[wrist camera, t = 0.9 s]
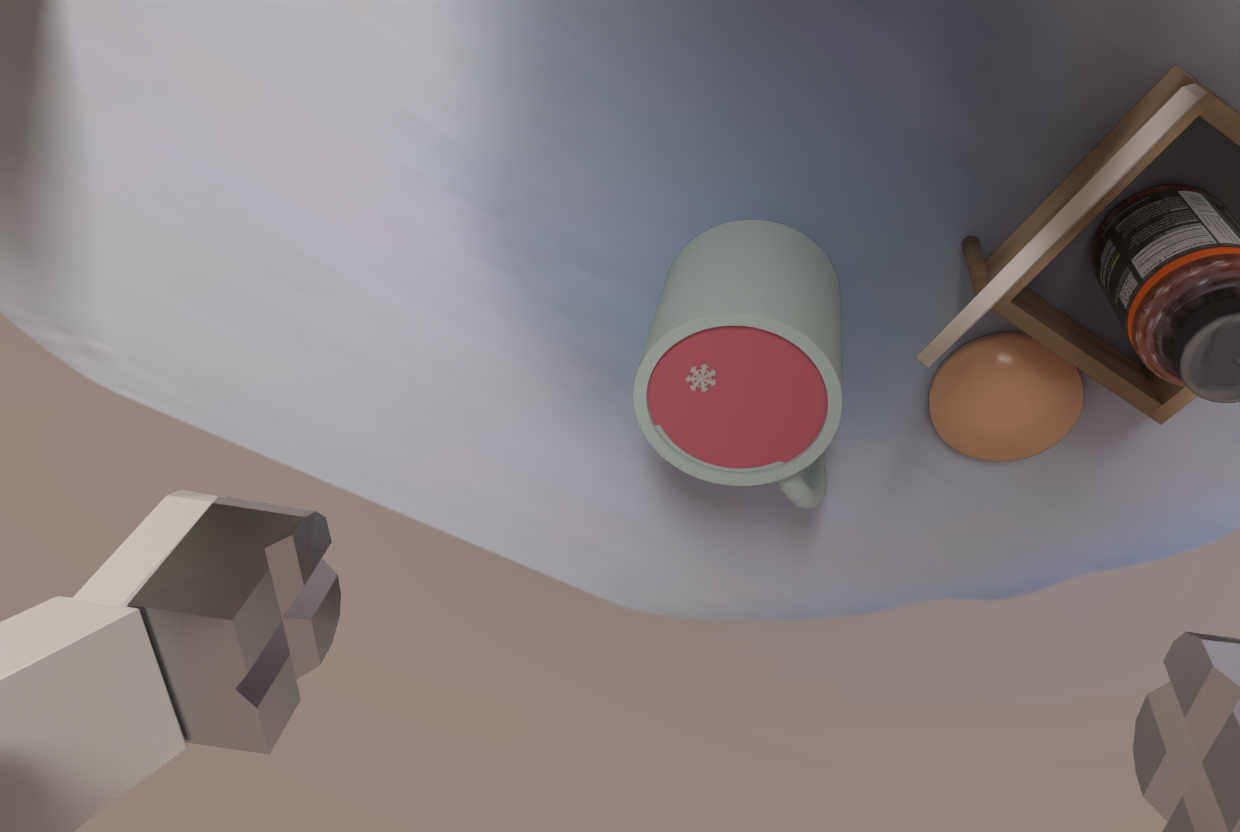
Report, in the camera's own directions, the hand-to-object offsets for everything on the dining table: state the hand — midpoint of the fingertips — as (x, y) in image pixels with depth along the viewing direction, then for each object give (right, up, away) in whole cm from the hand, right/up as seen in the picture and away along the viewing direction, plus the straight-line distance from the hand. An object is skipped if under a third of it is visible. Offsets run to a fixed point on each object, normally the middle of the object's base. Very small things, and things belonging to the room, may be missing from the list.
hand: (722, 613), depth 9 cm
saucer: (+19, +3, +42) cm, 46 cm away
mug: (+7, +6, +43) cm, 44 cm away
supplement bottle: (+24, +10, +36) cm, 45 cm away
